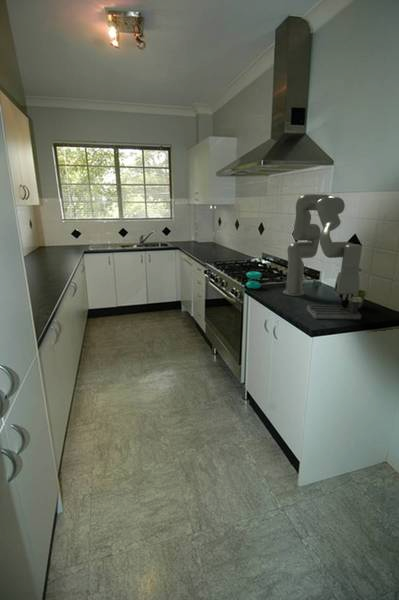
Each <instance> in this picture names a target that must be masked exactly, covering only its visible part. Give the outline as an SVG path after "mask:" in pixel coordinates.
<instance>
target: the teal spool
mask: <svg viewBox="0 0 399 600" xmlns="http://www.w3.org/2000/svg"><path fill="white" fill-rule="evenodd" d="M245 275H246V277H247V278H248V279H253V280H252V281H247V282H246V283H245V286H247V288H248V289H251V288H252V289H251V290H253V289H256V290H257V289H260V288H261V287H262V285H261V282H259V281H256V279H257V280H258V279H261V277H262V276H263V275H262V272H260V271H248V272H247V273H246V274H245Z"/></svg>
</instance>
